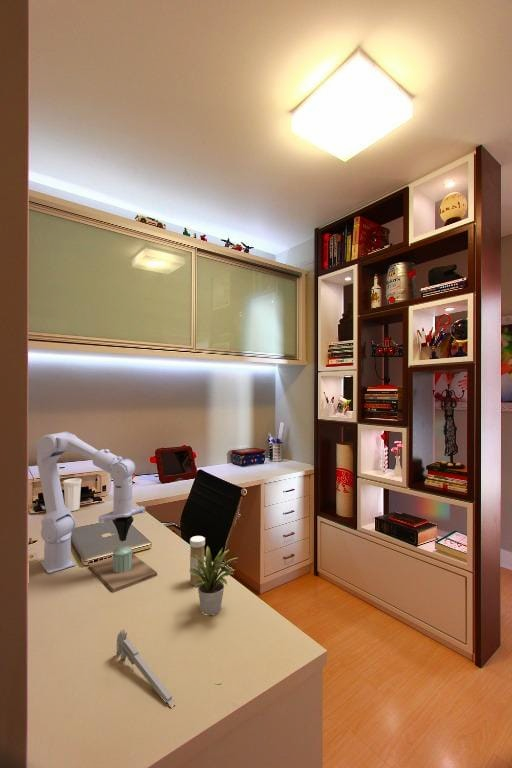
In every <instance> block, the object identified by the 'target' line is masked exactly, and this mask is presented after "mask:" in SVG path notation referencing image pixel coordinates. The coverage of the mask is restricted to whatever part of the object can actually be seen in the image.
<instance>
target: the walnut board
mask: <svg viewBox="0 0 512 768" xmlns="http://www.w3.org/2000/svg"><path fill="white" fill-rule="evenodd" d="M88 568H89V569H90V570H91V571H92V572H93V573H94V575H95V576H96V577H97V578H98V579H100V580H101V582H102V583H103V584H104V585H105V586H107V587H106V588H108V589H109V591H111V592H112V593H115V592H118V591H120V590H123V589H126V588H128V587H131V586H133V585H136V584H139V583H142V582H144V581H146V580H149V579H152V578H154V577H157V576H158V572H157V571H156V570H155V569H154V568H152V567H151V566H150V565H148V564H147V563H146V562H144V561H143V560H142V559H140V558H139V557H138V556H136V555H135V554H134V553H132V567H131V569H130V570H129V571H126V572H123V573H116V572H114V571H113V556H112V557H108V558H105V559H101V560H99V561H96V562H92V563H89V564H88Z"/></svg>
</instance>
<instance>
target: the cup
mask: <svg viewBox="0 0 512 768" xmlns="http://www.w3.org/2000/svg"><path fill="white" fill-rule="evenodd" d="M82 481H83V479H82V478H79V477H77V478H76V477H75V478H68V479H64V480H63V481H62V482H63V483H62V484H63V491H64V493H63V499H64V504H65V507H66V508H68V509H69V510H71V512H74V511H78V510H80V503H81V489H82V488H81V487H82Z"/></svg>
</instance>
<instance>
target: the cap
mask: <svg viewBox="0 0 512 768" xmlns="http://www.w3.org/2000/svg"><path fill="white" fill-rule="evenodd" d="M132 550H133V549H132V547H131V546H128V545H121V546H118V547H116V548H114V549H113V551H112V557H113V571H114V572H116V573H123V572H126V571H129V570H130V569H131V567H132V554H133V551H132Z"/></svg>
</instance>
